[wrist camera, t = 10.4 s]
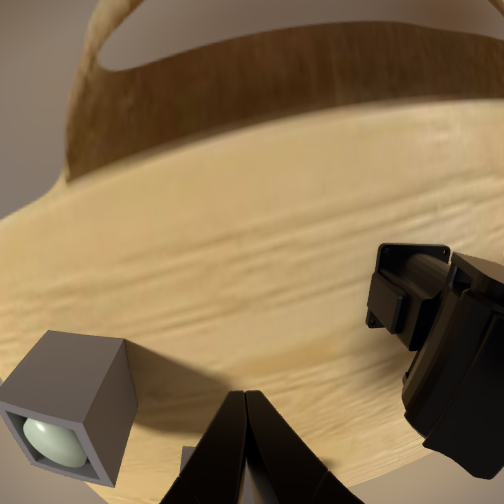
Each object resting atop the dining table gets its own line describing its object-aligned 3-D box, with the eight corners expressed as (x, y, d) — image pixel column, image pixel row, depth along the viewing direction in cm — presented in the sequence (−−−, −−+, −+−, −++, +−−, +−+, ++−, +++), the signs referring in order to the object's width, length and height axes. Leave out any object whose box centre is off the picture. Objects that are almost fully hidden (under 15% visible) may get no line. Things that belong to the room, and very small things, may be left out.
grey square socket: (123, 338, 21) (82, 423, 13) (138, 405, 23) (114, 488, 15) (47, 330, 21) (-9, 397, 12) (68, 394, 23) (31, 464, 14)
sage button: (84, 403, 16) (71, 430, 13) (102, 447, 17) (94, 473, 15) (28, 391, 15) (13, 413, 13) (50, 435, 17) (39, 457, 14)
